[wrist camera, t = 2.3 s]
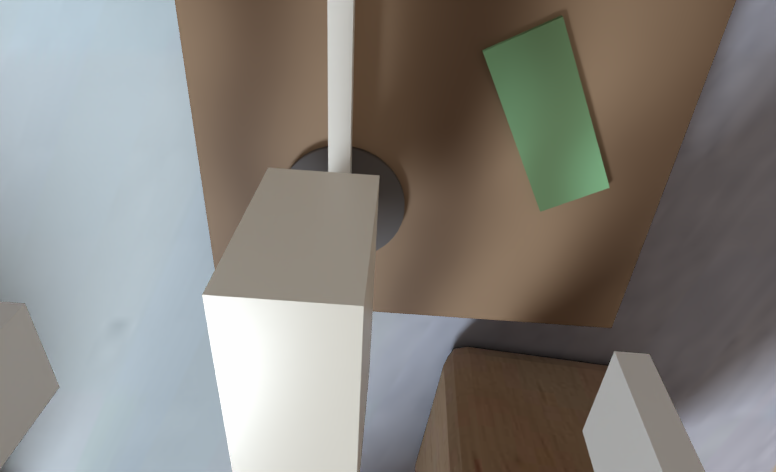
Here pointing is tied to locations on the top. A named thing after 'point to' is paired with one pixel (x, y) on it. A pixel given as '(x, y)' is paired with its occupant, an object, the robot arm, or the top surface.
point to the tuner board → (464, 136)
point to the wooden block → (509, 414)
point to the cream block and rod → (300, 301)
